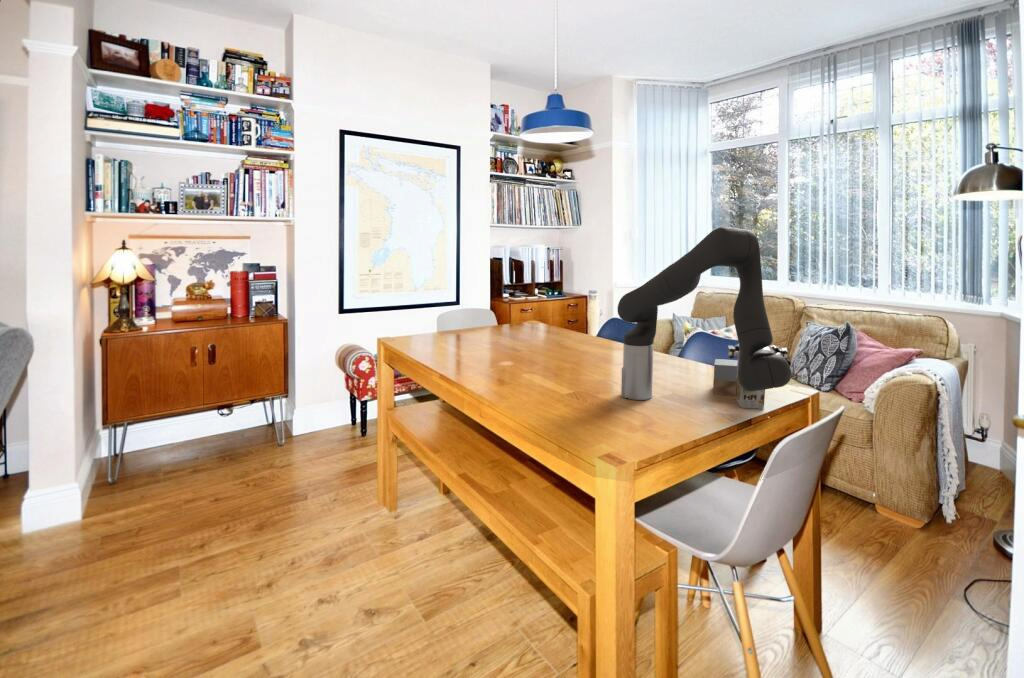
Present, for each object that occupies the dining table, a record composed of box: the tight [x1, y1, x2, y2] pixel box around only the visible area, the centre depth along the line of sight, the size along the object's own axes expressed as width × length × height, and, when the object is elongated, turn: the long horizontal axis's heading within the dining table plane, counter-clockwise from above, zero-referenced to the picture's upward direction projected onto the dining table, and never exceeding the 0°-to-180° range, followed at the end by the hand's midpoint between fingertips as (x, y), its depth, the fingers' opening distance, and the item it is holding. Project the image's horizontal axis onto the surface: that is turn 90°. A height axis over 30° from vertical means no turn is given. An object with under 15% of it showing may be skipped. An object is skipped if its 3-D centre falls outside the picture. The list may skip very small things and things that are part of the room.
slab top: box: [713, 358, 738, 381], centre depth 173 cm, size 9×9×5 cm
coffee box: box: [735, 355, 766, 410], centre depth 159 cm, size 9×6×16 cm
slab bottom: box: [712, 379, 737, 397], centre depth 174 cm, size 9×9×5 cm
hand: (755, 347), depth 147 cm, fingers open, 8 cm apart
